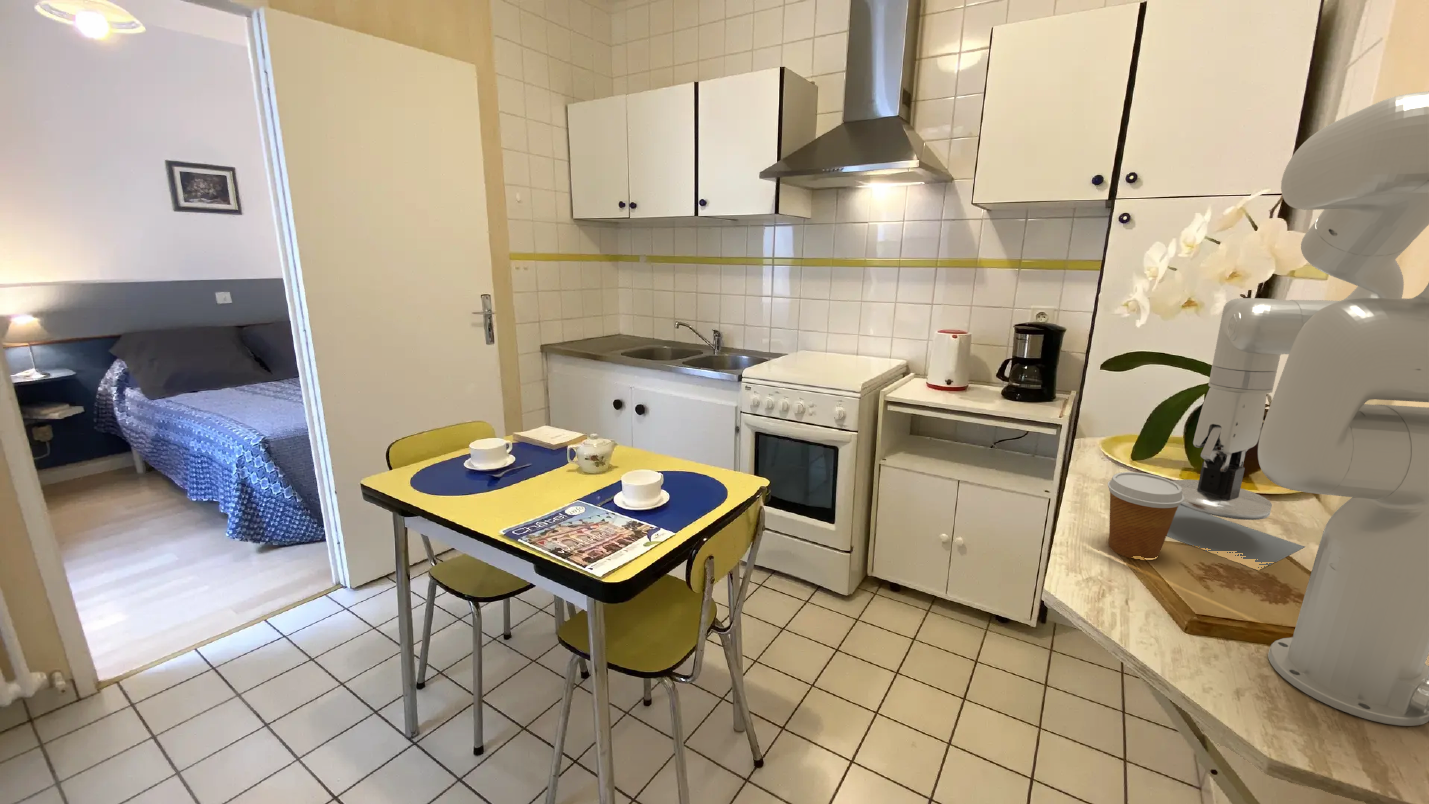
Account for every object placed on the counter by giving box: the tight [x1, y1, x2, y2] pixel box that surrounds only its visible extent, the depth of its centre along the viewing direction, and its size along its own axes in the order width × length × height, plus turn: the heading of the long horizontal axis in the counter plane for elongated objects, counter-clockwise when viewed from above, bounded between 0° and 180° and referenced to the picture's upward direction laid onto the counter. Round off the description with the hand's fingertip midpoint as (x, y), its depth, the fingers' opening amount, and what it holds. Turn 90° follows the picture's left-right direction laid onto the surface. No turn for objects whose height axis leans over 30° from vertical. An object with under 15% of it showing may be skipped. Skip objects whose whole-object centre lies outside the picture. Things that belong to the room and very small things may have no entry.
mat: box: [1166, 505, 1306, 568], centre depth 98 cm, size 20×15×1 cm
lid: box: [1172, 461, 1273, 521], centre depth 95 cm, size 13×13×6 cm
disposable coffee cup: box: [1107, 471, 1184, 559], centre depth 91 cm, size 10×10×12 cm
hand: (1218, 490), depth 95 cm, fingers closed on lid, 2 cm apart
